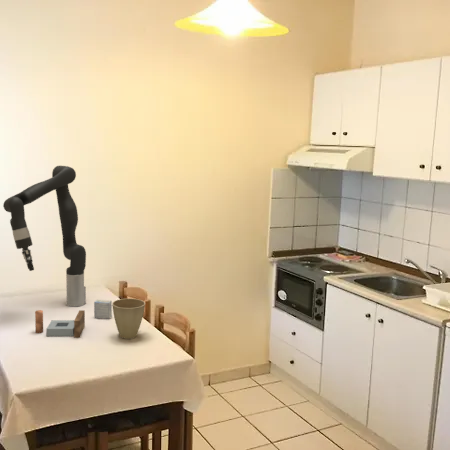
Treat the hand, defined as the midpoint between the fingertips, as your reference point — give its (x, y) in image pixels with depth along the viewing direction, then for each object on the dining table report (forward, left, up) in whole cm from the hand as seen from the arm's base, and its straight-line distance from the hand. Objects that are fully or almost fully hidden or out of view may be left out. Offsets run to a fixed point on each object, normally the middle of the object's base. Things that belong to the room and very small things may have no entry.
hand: (31, 269), depth 276 cm
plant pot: (-22, +50, -26) cm, 60 cm away
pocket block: (-2, +25, -26) cm, 36 cm away
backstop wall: (-8, +30, -25) cm, 40 cm away
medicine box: (-28, +20, -26) cm, 43 cm away
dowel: (+6, +19, -25) cm, 32 cm away
